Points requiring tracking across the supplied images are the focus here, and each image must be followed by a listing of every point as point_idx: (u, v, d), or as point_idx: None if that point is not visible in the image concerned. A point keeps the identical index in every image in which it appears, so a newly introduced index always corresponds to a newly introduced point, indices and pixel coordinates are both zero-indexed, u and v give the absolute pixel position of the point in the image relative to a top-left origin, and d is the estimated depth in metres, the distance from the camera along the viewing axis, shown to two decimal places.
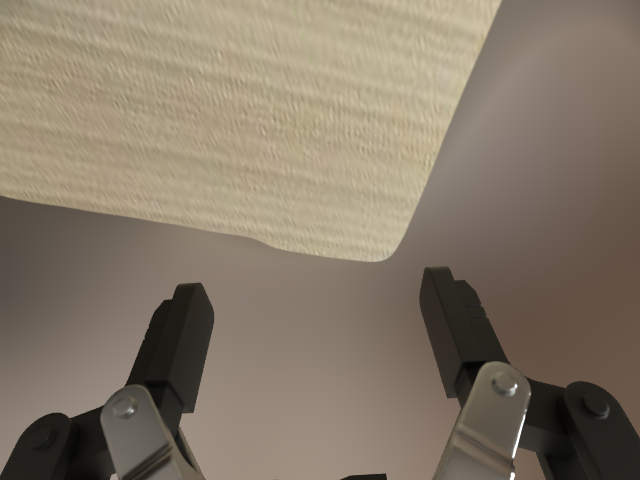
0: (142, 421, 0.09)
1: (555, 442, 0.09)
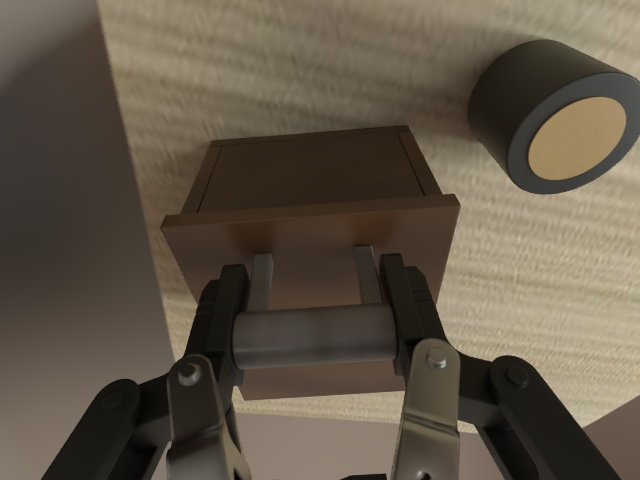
0: (201, 391, 0.09)
1: (484, 412, 0.09)
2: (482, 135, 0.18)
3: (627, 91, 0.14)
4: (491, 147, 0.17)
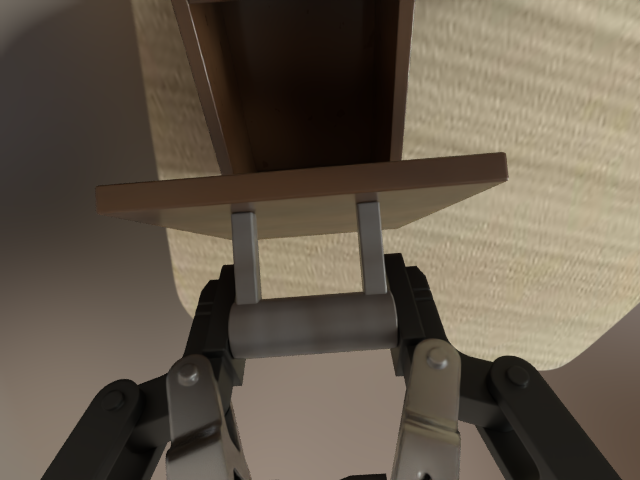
0: (200, 391, 0.09)
1: (484, 412, 0.09)
2: None
3: None
4: None
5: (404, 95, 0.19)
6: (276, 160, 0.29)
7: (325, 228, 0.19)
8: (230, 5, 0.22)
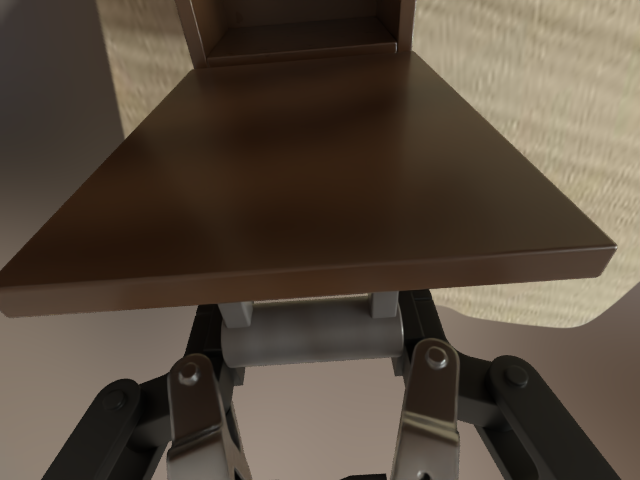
0: (201, 391, 0.09)
1: (483, 412, 0.09)
2: None
3: None
4: None
5: None
6: (254, 11, 0.22)
7: None
8: None
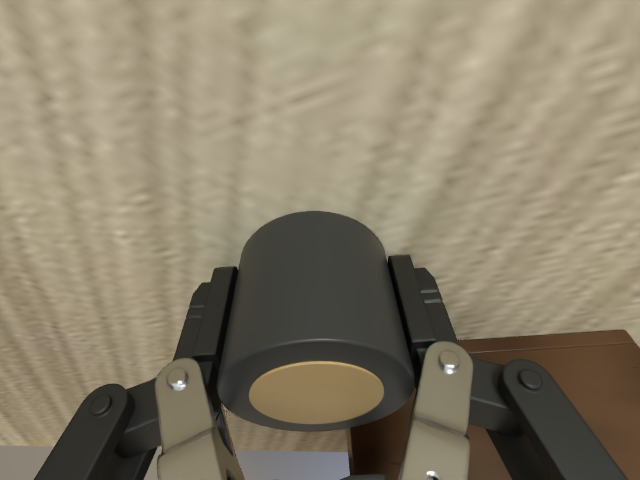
0: (190, 396, 0.09)
1: (496, 416, 0.09)
2: None
3: (237, 380, 0.09)
4: None
5: None
6: None
7: None
8: None
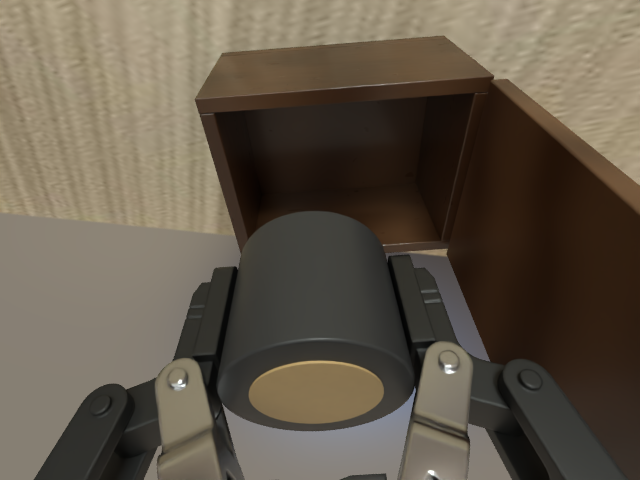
0: (190, 396, 0.09)
1: (496, 416, 0.09)
2: None
3: (236, 380, 0.09)
4: None
5: (314, 92, 0.16)
6: (407, 163, 0.27)
7: None
8: (271, 187, 0.28)
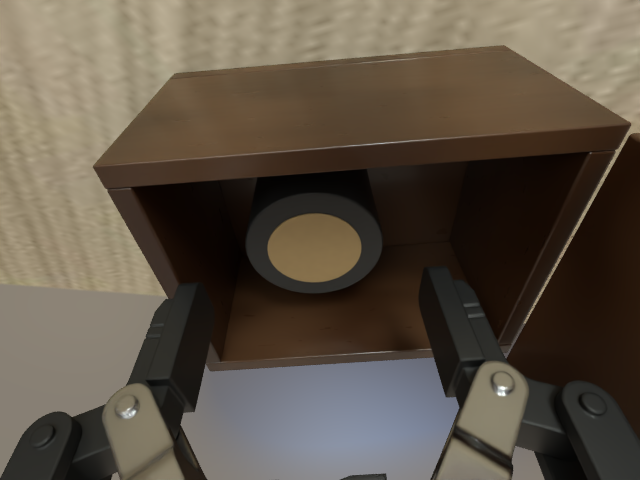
0: (143, 420, 0.09)
1: (553, 441, 0.09)
2: None
3: (260, 231, 0.14)
4: None
5: (304, 154, 0.09)
6: (440, 218, 0.20)
7: None
8: None
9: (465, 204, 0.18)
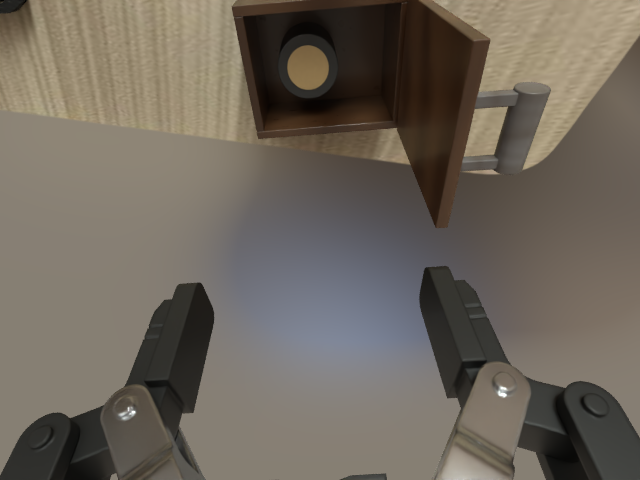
0: (142, 421, 0.09)
1: (555, 442, 0.09)
2: None
3: (284, 56, 0.32)
4: None
5: (303, 2, 0.27)
6: (374, 78, 0.38)
7: None
8: (276, 97, 0.39)
9: (384, 64, 0.36)
